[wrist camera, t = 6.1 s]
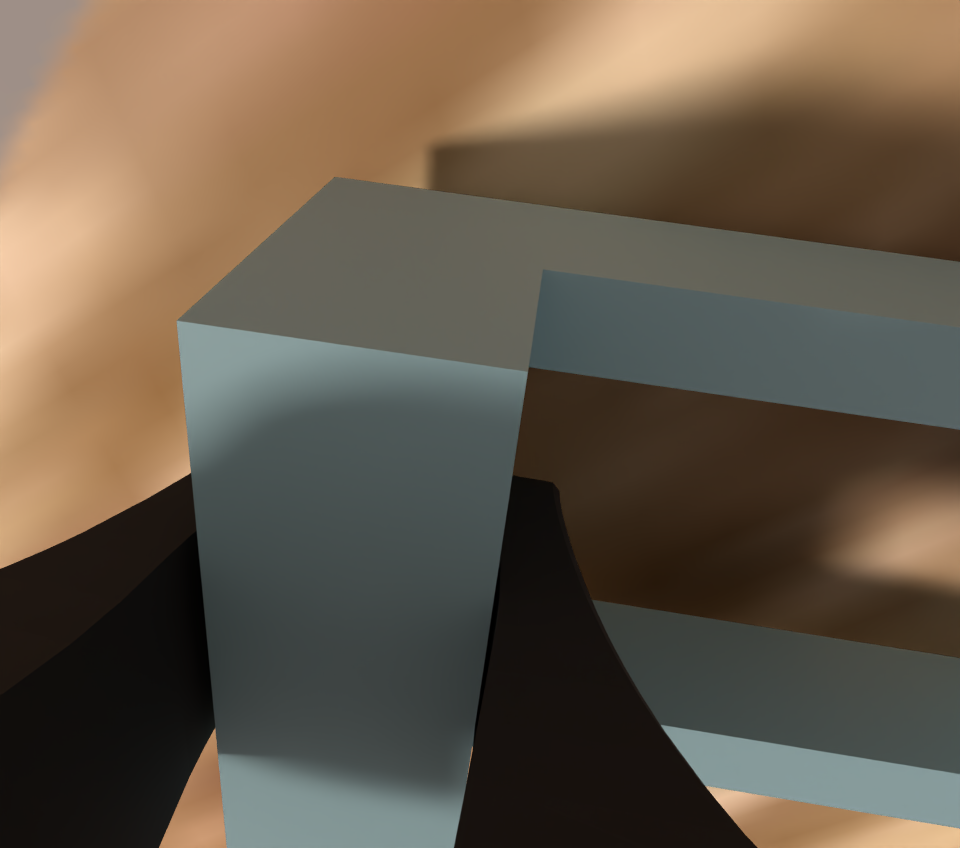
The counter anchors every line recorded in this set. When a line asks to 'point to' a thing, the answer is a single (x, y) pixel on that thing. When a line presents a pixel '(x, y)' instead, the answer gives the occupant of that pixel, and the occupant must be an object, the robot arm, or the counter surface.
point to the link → (486, 488)
